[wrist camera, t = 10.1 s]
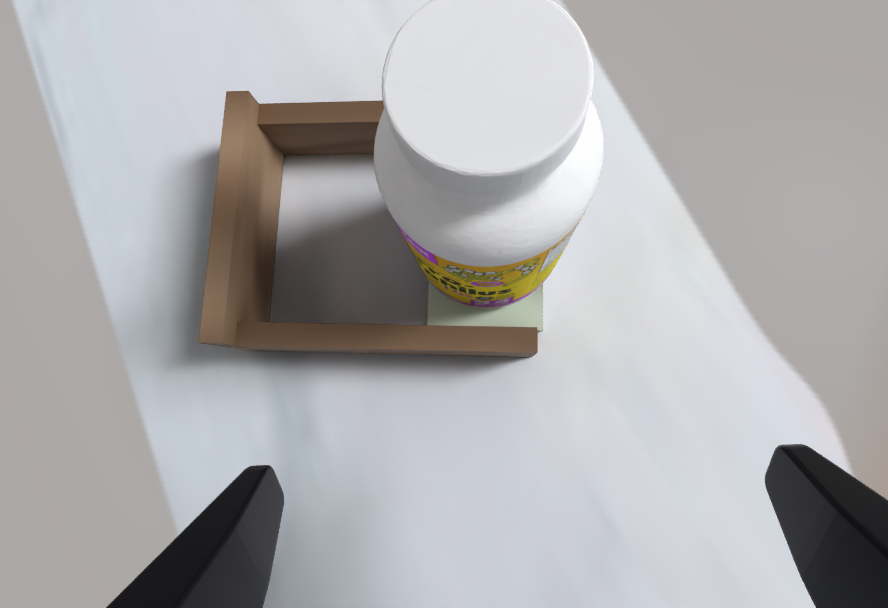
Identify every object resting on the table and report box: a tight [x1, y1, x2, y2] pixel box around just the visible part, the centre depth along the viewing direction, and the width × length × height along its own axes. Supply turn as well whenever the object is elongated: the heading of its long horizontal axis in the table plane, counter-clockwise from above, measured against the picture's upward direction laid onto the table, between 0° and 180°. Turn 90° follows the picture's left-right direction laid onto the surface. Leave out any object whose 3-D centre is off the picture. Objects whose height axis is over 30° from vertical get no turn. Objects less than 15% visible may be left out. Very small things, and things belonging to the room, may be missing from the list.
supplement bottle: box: [374, 0, 604, 309], centre depth 17 cm, size 7×7×13 cm
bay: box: [198, 91, 543, 357], centre depth 22 cm, size 11×14×4 cm
